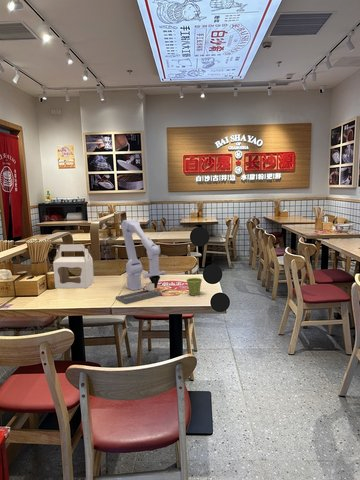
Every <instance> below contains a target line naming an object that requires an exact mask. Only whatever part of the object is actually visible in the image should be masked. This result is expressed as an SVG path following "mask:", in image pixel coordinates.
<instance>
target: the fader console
mask: <svg viewBox="0 0 360 480" xmlns="http://www.w3.org/2000/svg"><path fill="white" fill-rule="evenodd" d="M161 296H163V293H162V292H160V291H158V290H153V291H151V292H148V290H146V289H143V290H139V291H135V292H130V293H127V294H121V295H118V296H115V300H116V301H119V302H120V303H123V304H124V305H128V304H133V303H137V302H142V301H145V300H148V299H153V298H156V297H161Z"/></svg>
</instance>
